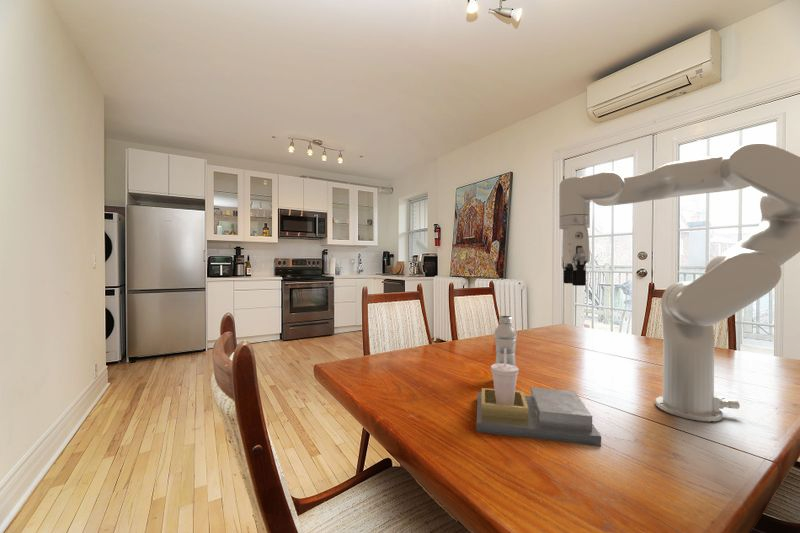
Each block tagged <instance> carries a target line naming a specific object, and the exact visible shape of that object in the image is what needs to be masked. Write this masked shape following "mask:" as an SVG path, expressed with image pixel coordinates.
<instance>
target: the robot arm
mask: <svg viewBox="0 0 800 533" xmlns="http://www.w3.org/2000/svg"><path fill="white" fill-rule="evenodd" d="M558 187H559V190H558V191H559V193H558V194H559V198H558V199H559V201H558V202H559V212H558V214H559V220H558V221H559V227H558V228H559V230H562V251H561V252H562V253H561V254H562V262H563V283H564V284H571V286H576V287H577V286H580V287H583V286H584V287H585V286H586V284H587V267H586V266H587V265H586V264H588V263H589V262H590V261H591V255H590V254H591V253H590V252H591V251H590V236H589V229H588V228H590V227H591V226H590V224H591V223H590V220H591V219H590V218H591V215H590V213H591V212H590V210H591V208H590V206H591V201H592V202H593V203H594V204H595V205H598V206H601V207H611V206H620V205H627V204H628V205H629V204H635V203H643V202H650V201H656V200H657V201H658V200H664V199H670V198H677V197H683V196H692V195H693V196H694V195H702V194H711V193H712V194H713V193H720V192H728V191H738V190H742V189H747V188H749V187H752V188H754V189H756V190H757V191H759V192H761V193H763V195H762V196H761V198H760V202H759V208H760V211H761V212H760V213H761V220H760V223H759V225H758V226H757V228H755V229H754V230H753V231H752V232H750V233H749V234H748V235H747V236H745V237H744V238H743V239H741V240H739V242H737V243H736V244H734V245H733V246H731V247H729V248H728V249H726V250H725V251H724V252H722V253H720V254H719V255H717V256H715V257H714V258H712V259H711V260H710V261H709V263H708V264H707V265H706V267H705V271H704V272H705V273H703V274H702V275H701V276H699V277H697V278H696V279H695V280H693V281H688V280H687V281H686V280H685V281H678V282H675V283H673V284H670V285H669V286H668V287H667V288H666V289H665V290H664V291H663V293H662V296H661V302H660V303H661V304H660V305H661V317H662V337H663V338H662V342H663V344H662V395H659V396H658V397H655V399H654V402H655V403H654V404H655V406H657V407H658V409H660V410H662V411H664V412H666V413H668V414H671V415H673V416H677V417H680V418H683V419H687V420H692V421H698V422H709V423H710V422H711V421H713V422H719V421H721V420H723V418H724V414H723V411H722V410H723V409H724V408H728V409H735V410H738V409H740V406H741V405H740V402H739V401H738V400H736V399H725V397H724V396H718V395H716V394H715V331H714V325H716V324H720V323H721V322H723V321H725V320H727V319H728V318H730V317H732V316H733V315H736V314H737V313H739V312H740V311H741V310H743V309H745V308H747V307H748V306H750V305H751V304H753V303H754V302H756V301H758V300H759V299H761V298H762V297H765V295H767V294H769V293H770V292H771V291H772V290H773V289H774V288H775V287H776V286H777V285H778V283H779V281H780V280H781V277H782V268H781V266H783V265H784V264H785V263H786V262H788V261H789V260H791V259H792V258H794V257H795V256H796V255H797V254H799V253H800V156H799V155H797V154H795V153H792V152H790V151H788V150H785V149H783V148H781V147H778V146H776V145H773V144H769V143H766V142H750V143H746V144H743V145H741V146H739V147H737V148H736V149H734V150H733V151H731V152H730V153H726V154H718V155H712V156H706V157H700V158H699V157H698V158H693V159H687V160H678V161H673V162H669V163H666V164H664V165H662V166H659V167H657V168H655V169H653V170H651V171H648V172H644V173H641V174H638V175H632V176H627V177H626V176H625V177H623V176H622V175H621V174H619V173H618V172H615V171H604V172H599V173H596V174H592V175H586V176H572V177H568V178H564V179H563V180H561V181H560V183H559V186H558ZM711 423H712V422H711Z"/></svg>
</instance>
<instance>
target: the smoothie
mask: <svg viewBox="0 0 800 533" xmlns="http://www.w3.org/2000/svg"><path fill="white" fill-rule="evenodd" d="M490 372H491V374H492V381H493V389H494V390H495V398H496V404H502V405H512V406H513V405H514V397H515V391H516V390H517V388H516V386H517V380H518V374H519V373H520V370H519V367H518V366H517V365H516V366H514V365H511V364H506V348H504V363H498V364H496V363H494V364H491V365H490Z"/></svg>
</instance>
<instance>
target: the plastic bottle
mask: <svg viewBox="0 0 800 533" xmlns="http://www.w3.org/2000/svg"><path fill="white" fill-rule="evenodd" d="M498 318H499V319H498V323H499V324H498V326H497V327H496V328H495V330H494V332H493V336H494V343H495V351H496V352H495V353H496V356H495V364H498V363H504V348H506V364H511V365H514V366H517V365H516V363H517V362H516V345H517V336H518V334H517V331H516V329H515V328H514V327H513V325H512V324H513V316H510V315H500V316H499V317H498Z"/></svg>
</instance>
